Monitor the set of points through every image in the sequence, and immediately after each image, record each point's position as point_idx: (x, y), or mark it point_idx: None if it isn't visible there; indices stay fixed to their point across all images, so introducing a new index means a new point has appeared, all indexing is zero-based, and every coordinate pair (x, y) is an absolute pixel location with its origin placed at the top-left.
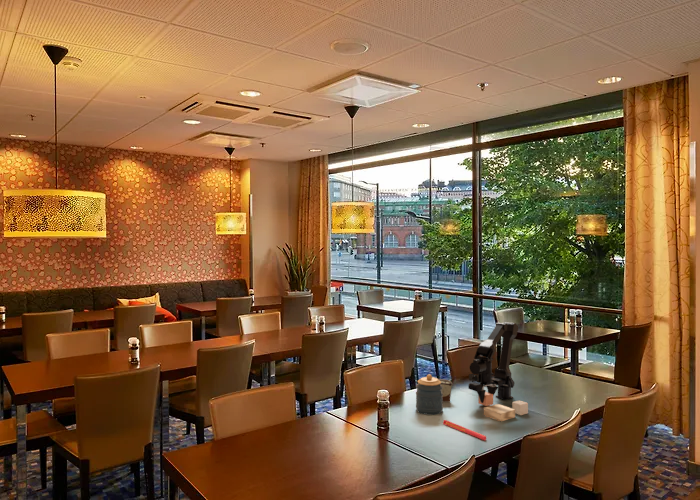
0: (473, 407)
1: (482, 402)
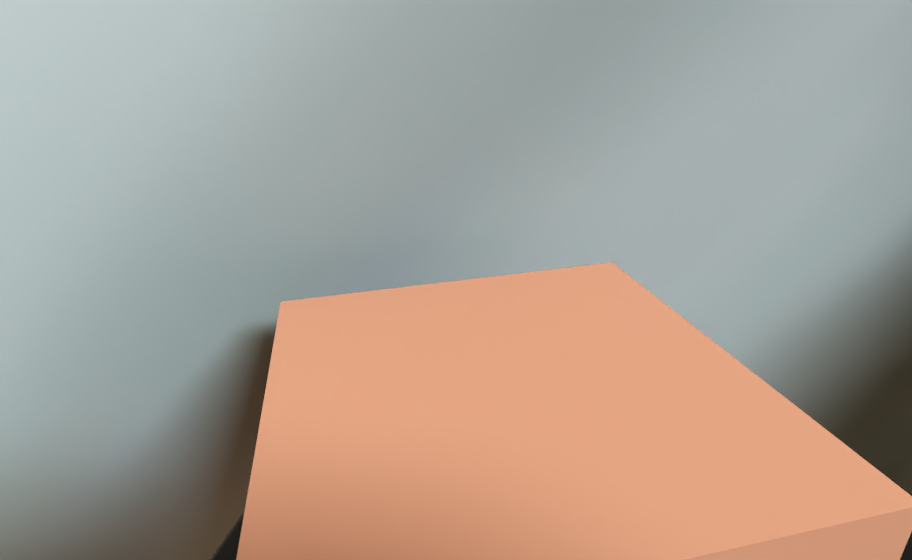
0: (3, 348)
1: None
